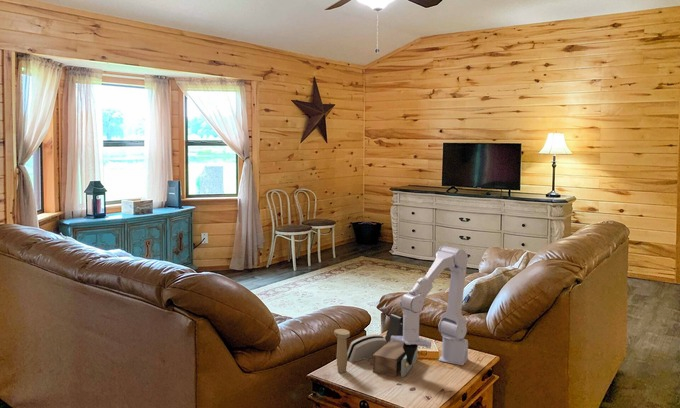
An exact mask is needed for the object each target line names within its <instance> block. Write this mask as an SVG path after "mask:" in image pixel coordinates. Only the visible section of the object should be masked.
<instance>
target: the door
mask: <svg viewBox="0 0 680 408" xmlns="http://www.w3.org/2000/svg"><path fill="white" fill-rule="evenodd" d="M418 347H419V346H418ZM418 347H417V349H416V351H415V354H414V357H413V361H412V364H411V365H409V363H408V359H407V356H406V355H405V357H404V358H403V359H402V360H401V372H400V377H401V378H404V377H406V375H407V374H408V373H409V371H410V369H411V368H412V367H413V366H414V364H415V363H416V361H417V360H418V350H419V348H418Z"/></svg>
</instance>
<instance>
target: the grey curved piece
mask: <svg viewBox="0 0 680 408" xmlns="http://www.w3.org/2000/svg"><path fill="white" fill-rule="evenodd" d="M386 342H387V341H386V340H385V338H384V336H383V335H381V334H376V333H375V334H367V335H364V336H361V337H358V338H356V339H354V340H353V341H351V342H350V344H349V347H348V348H347V360H348V362H349V363H354V362H357V361H362V360H365V359H369V358H373V354H374V353H376V352H377V351H378V350H379V349H380V348H382V347H383V346H384V345H385V344H386Z"/></svg>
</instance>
